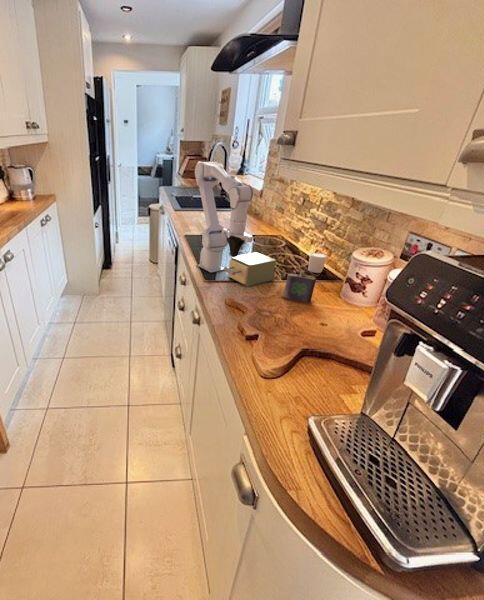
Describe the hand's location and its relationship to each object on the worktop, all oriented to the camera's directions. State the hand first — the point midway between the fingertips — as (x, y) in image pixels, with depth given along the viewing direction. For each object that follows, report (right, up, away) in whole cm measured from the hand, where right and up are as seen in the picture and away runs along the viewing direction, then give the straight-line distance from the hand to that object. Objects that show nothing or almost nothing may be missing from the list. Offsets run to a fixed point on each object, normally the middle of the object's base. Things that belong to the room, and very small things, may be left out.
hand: (234, 256), depth 124 cm
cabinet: (+8, -8, +8) cm, 14 cm away
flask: (+20, -17, -9) cm, 28 cm away
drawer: (+5, -8, +5) cm, 11 cm away
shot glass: (+39, -4, +17) cm, 43 cm away
